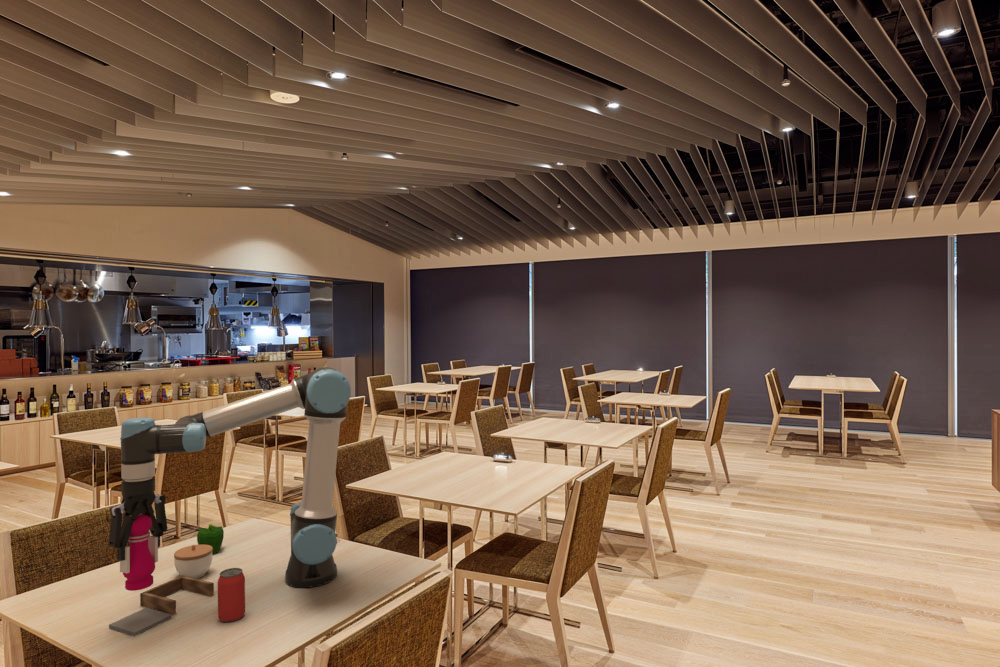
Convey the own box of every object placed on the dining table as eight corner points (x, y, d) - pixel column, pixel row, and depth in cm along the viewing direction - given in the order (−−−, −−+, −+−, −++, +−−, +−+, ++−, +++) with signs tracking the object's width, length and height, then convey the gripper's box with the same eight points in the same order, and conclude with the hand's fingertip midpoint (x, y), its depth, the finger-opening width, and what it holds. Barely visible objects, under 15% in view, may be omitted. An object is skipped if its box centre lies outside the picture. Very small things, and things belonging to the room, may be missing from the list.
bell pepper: (200, 548, 209) (199, 520, 209) (225, 546, 211) (225, 518, 211) (194, 557, 201) (193, 527, 201) (220, 555, 203) (220, 525, 203)
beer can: (228, 625, 154) (227, 579, 154) (212, 619, 158) (212, 573, 158) (250, 614, 160) (249, 570, 160) (235, 608, 164) (234, 565, 163)
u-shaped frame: (213, 595, 172) (213, 582, 172) (172, 615, 160) (172, 601, 160) (182, 587, 178) (182, 575, 178) (140, 606, 166) (140, 593, 166)
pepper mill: (162, 582, 158) (161, 506, 158) (137, 593, 151) (136, 514, 151) (141, 578, 160) (140, 503, 160) (116, 589, 154) (115, 511, 153)
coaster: (171, 618, 158) (171, 614, 158) (134, 636, 149) (134, 632, 149) (146, 611, 163) (146, 607, 162) (109, 628, 153) (109, 624, 153)
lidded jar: (220, 568, 191) (219, 539, 191) (199, 583, 180) (199, 552, 180) (188, 567, 192) (187, 538, 192) (166, 582, 181) (166, 551, 181)
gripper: (163, 468, 166) (164, 551, 166) (89, 486, 148) (90, 578, 148) (182, 471, 163) (183, 555, 163) (109, 489, 145) (110, 584, 145)
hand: (139, 566), depth 156 cm, fingers closed on pepper mill, 7 cm apart
